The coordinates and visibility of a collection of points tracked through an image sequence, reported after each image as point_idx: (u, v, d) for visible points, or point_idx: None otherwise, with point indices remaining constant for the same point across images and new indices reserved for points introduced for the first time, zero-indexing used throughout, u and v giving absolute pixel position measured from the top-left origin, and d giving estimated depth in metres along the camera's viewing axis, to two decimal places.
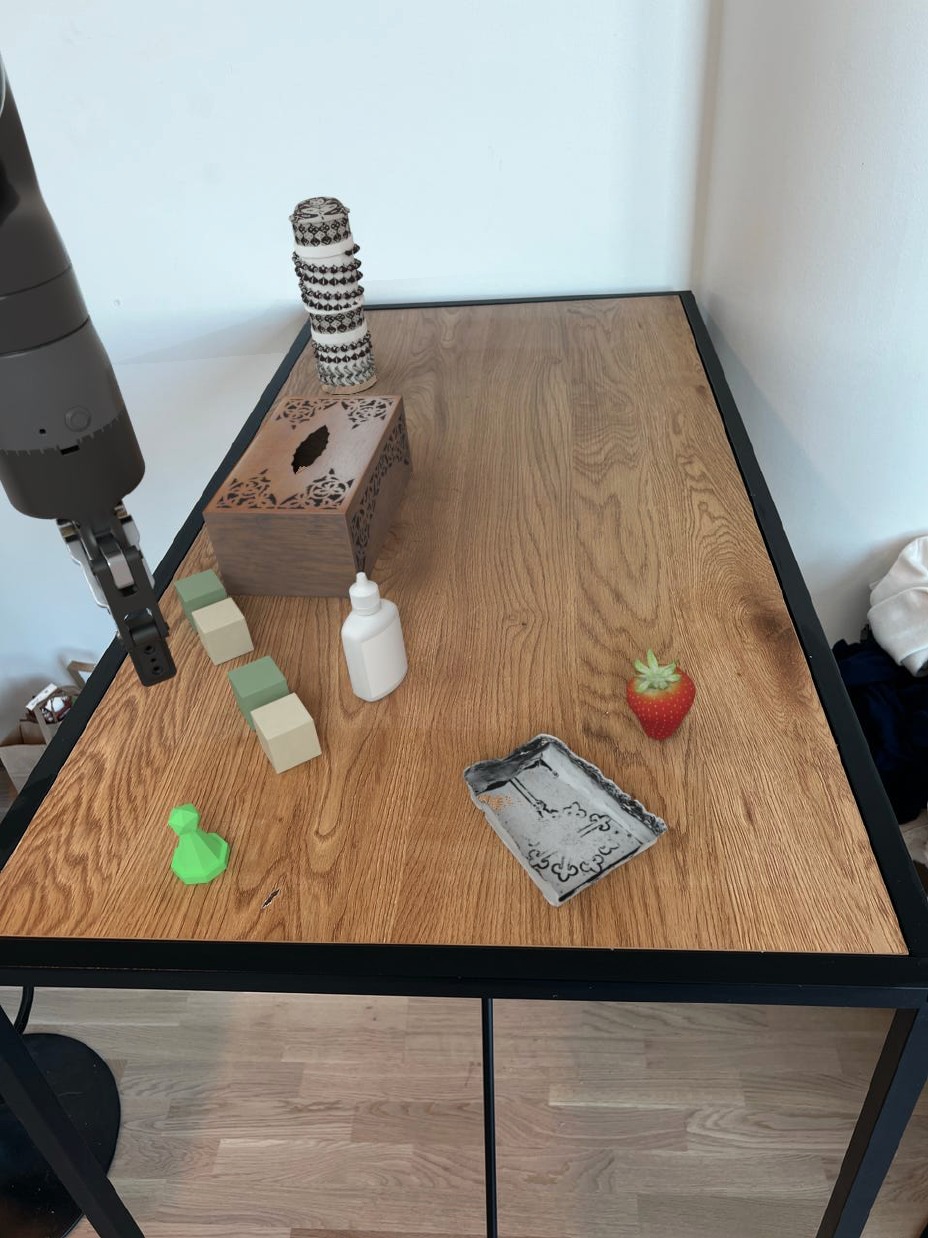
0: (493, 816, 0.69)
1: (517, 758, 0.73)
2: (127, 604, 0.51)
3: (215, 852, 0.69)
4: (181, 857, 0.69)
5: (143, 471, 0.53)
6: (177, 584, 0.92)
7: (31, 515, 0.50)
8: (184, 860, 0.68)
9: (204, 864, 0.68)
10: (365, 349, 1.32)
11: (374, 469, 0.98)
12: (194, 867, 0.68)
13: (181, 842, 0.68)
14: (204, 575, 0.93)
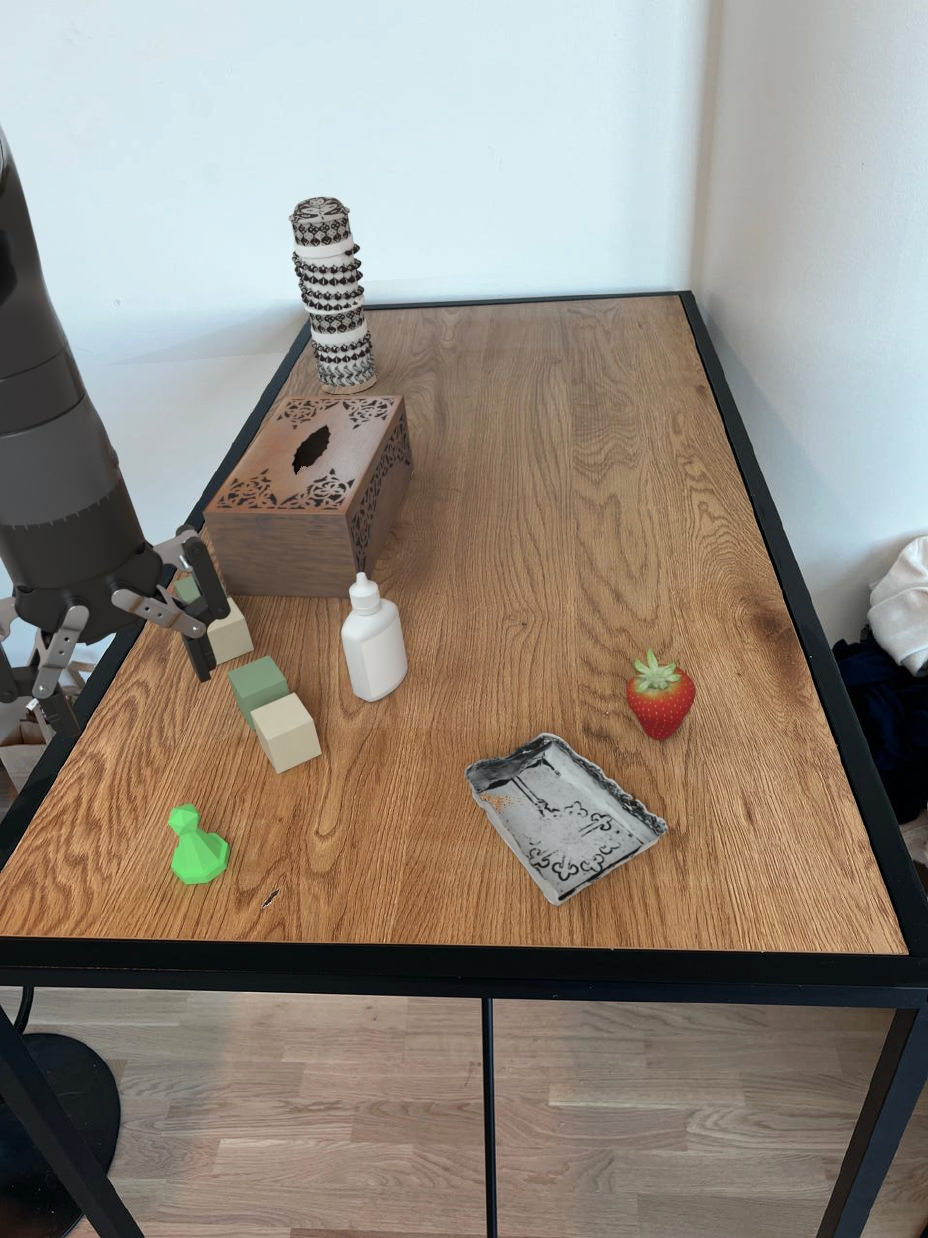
0: (494, 814, 0.69)
1: (519, 756, 0.73)
2: None
3: (215, 852, 0.69)
4: (181, 857, 0.69)
5: (55, 584, 0.50)
6: (177, 584, 0.92)
7: None
8: (184, 860, 0.68)
9: (204, 864, 0.68)
10: (365, 349, 1.32)
11: (375, 469, 0.98)
12: (194, 867, 0.68)
13: (181, 842, 0.68)
14: None
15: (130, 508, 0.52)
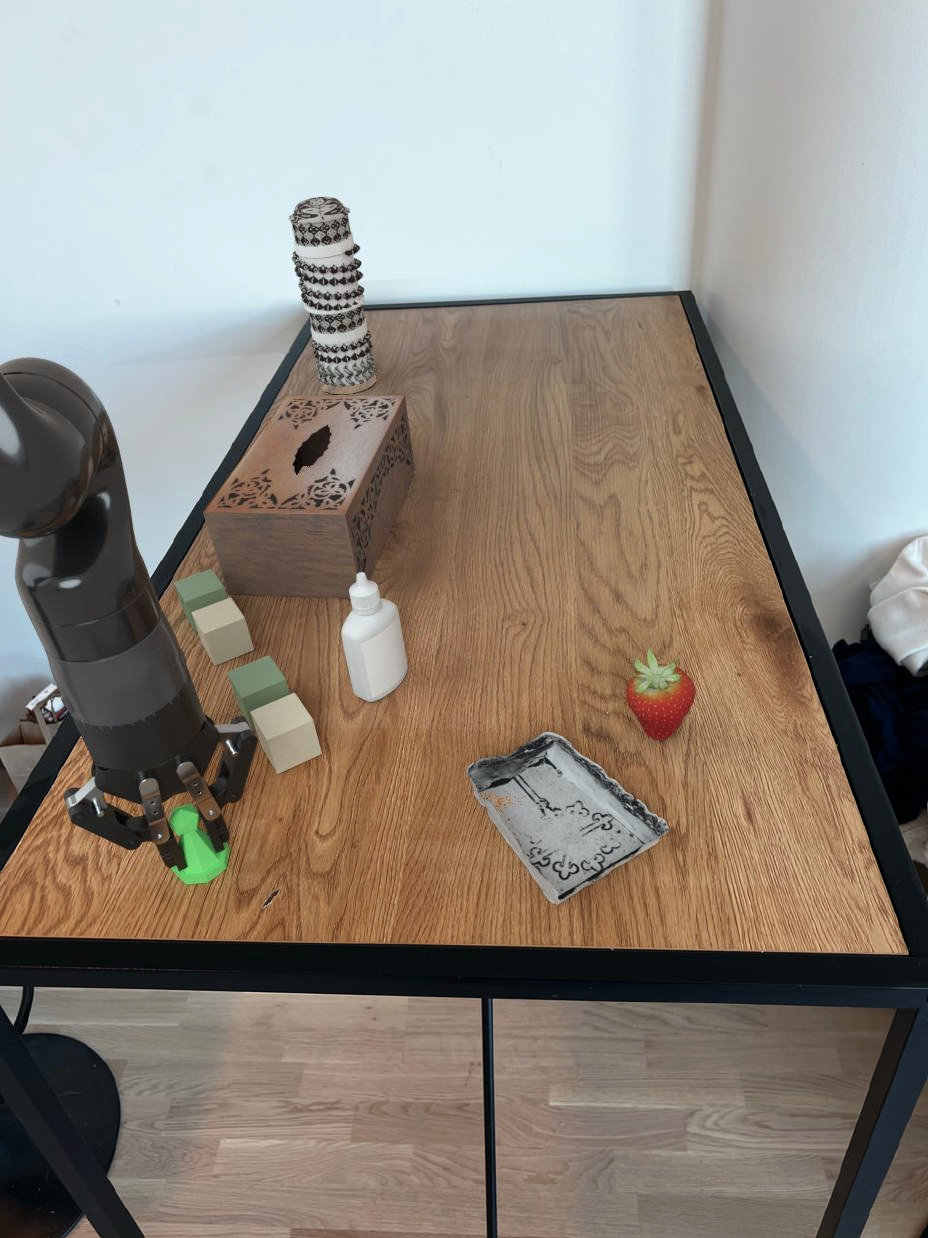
0: (495, 813, 0.69)
1: (521, 755, 0.73)
2: None
3: (215, 852, 0.69)
4: None
5: (133, 769, 0.59)
6: (177, 584, 0.92)
7: None
8: None
9: (204, 864, 0.68)
10: (365, 349, 1.32)
11: (376, 469, 0.98)
12: (194, 867, 0.68)
13: (181, 841, 0.68)
14: (204, 575, 0.93)
15: (195, 697, 0.60)
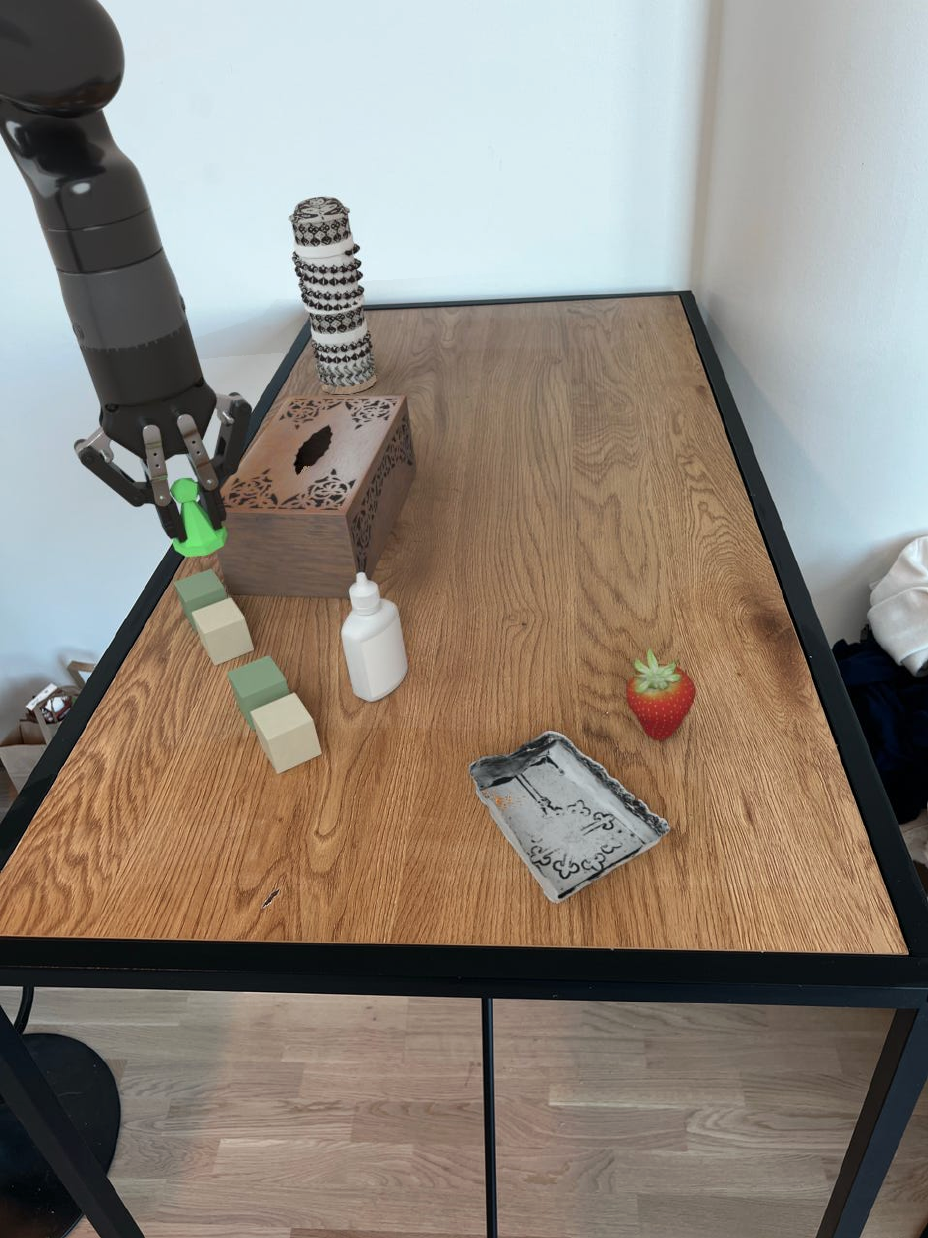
0: (497, 811, 0.69)
1: (523, 754, 0.73)
2: None
3: (213, 529, 0.75)
4: None
5: (137, 400, 0.64)
6: (177, 584, 0.92)
7: None
8: None
9: (203, 537, 0.74)
10: (365, 349, 1.32)
11: (376, 469, 0.98)
12: (194, 539, 0.74)
13: (182, 514, 0.74)
14: (204, 575, 0.93)
15: (193, 346, 0.66)
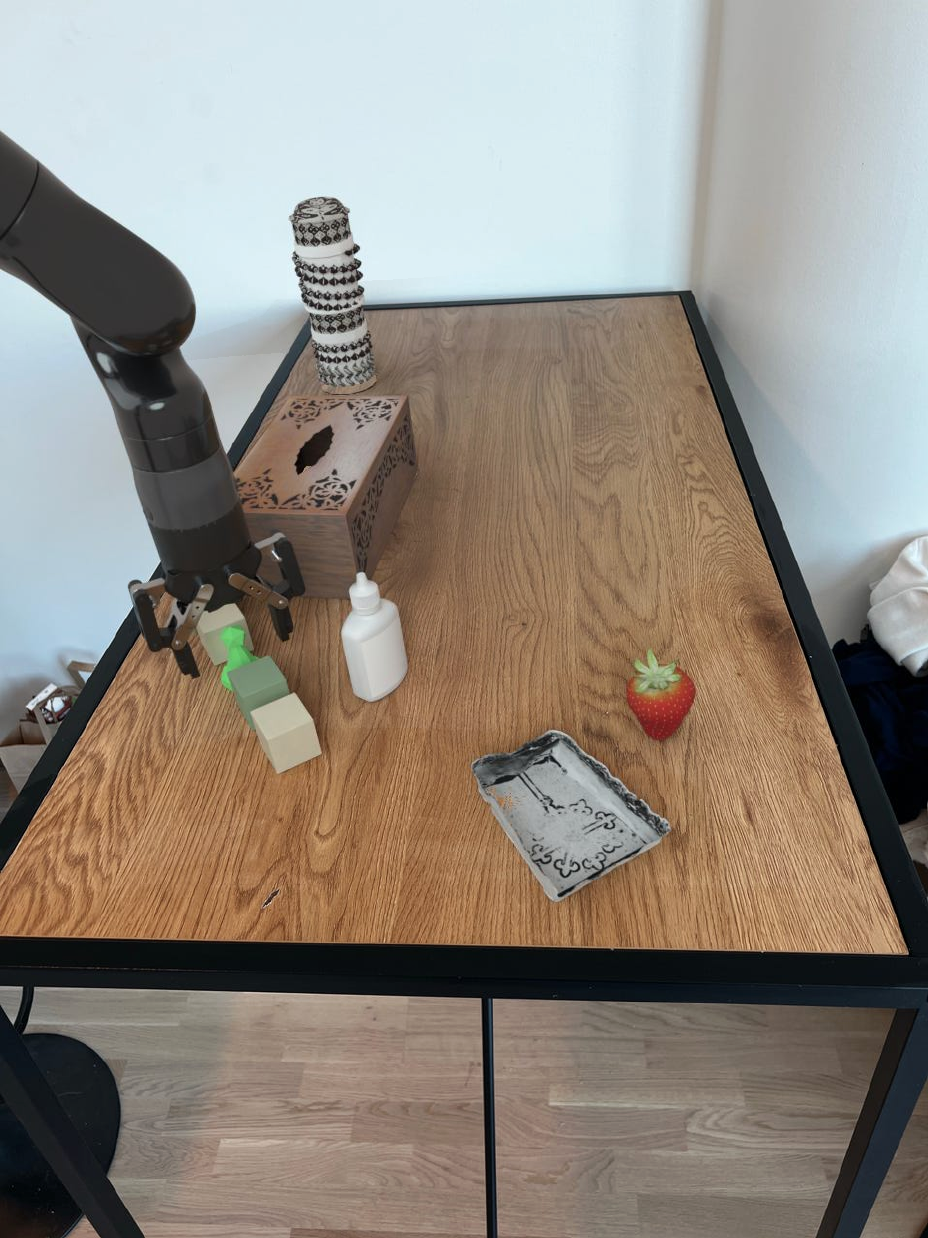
0: (498, 809, 0.69)
1: (526, 753, 0.73)
2: (137, 615, 0.78)
3: None
4: (229, 670, 0.85)
5: (196, 569, 0.75)
6: None
7: None
8: None
9: None
10: (365, 349, 1.32)
11: (377, 470, 0.98)
12: None
13: (230, 656, 0.84)
14: None
15: (244, 517, 0.76)
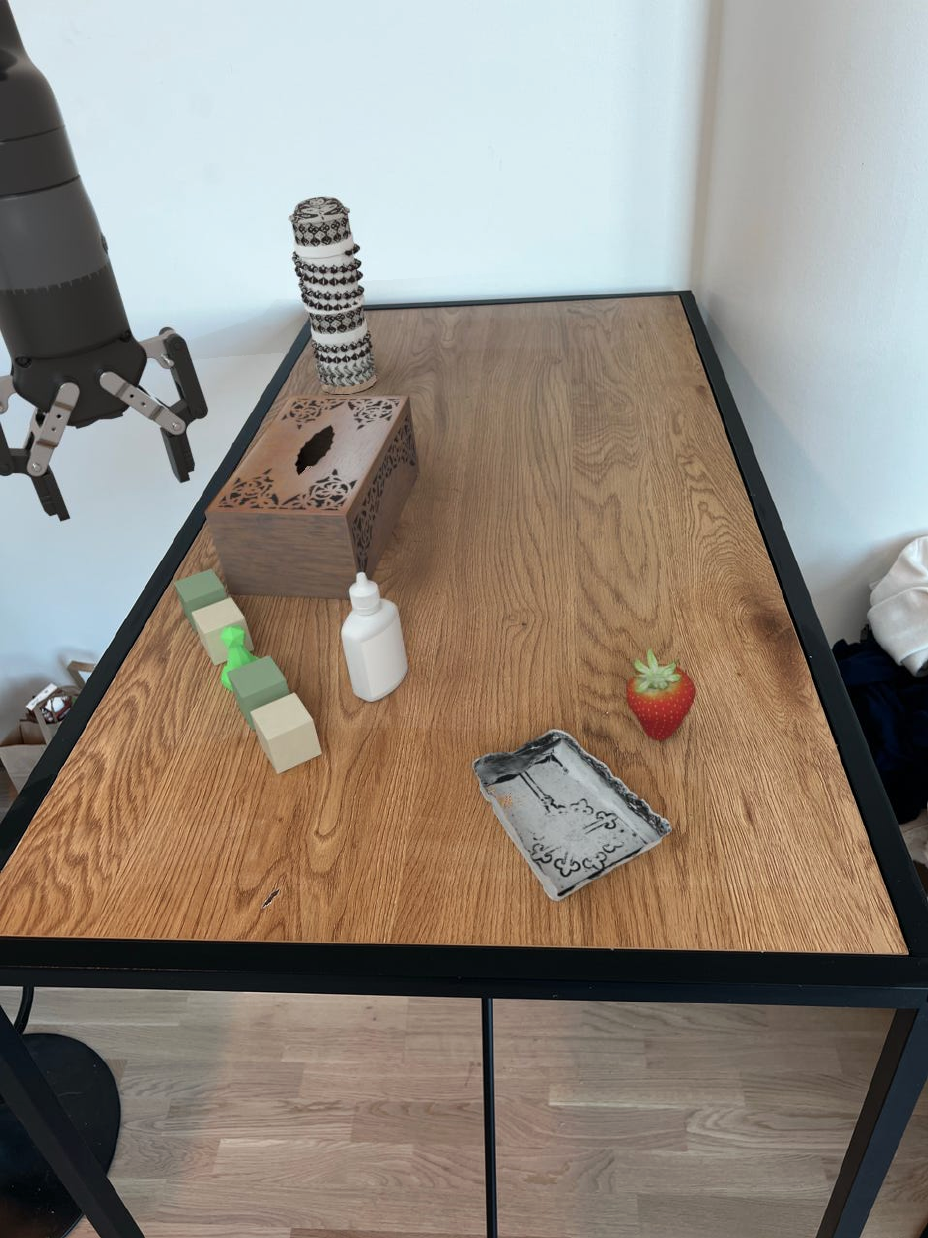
0: (499, 808, 0.69)
1: (528, 752, 0.73)
2: None
3: None
4: (229, 669, 0.85)
5: (50, 352, 0.56)
6: (177, 584, 0.92)
7: None
8: None
9: None
10: (365, 349, 1.32)
11: (378, 470, 0.98)
12: None
13: (230, 656, 0.84)
14: (204, 575, 0.93)
15: (118, 293, 0.58)
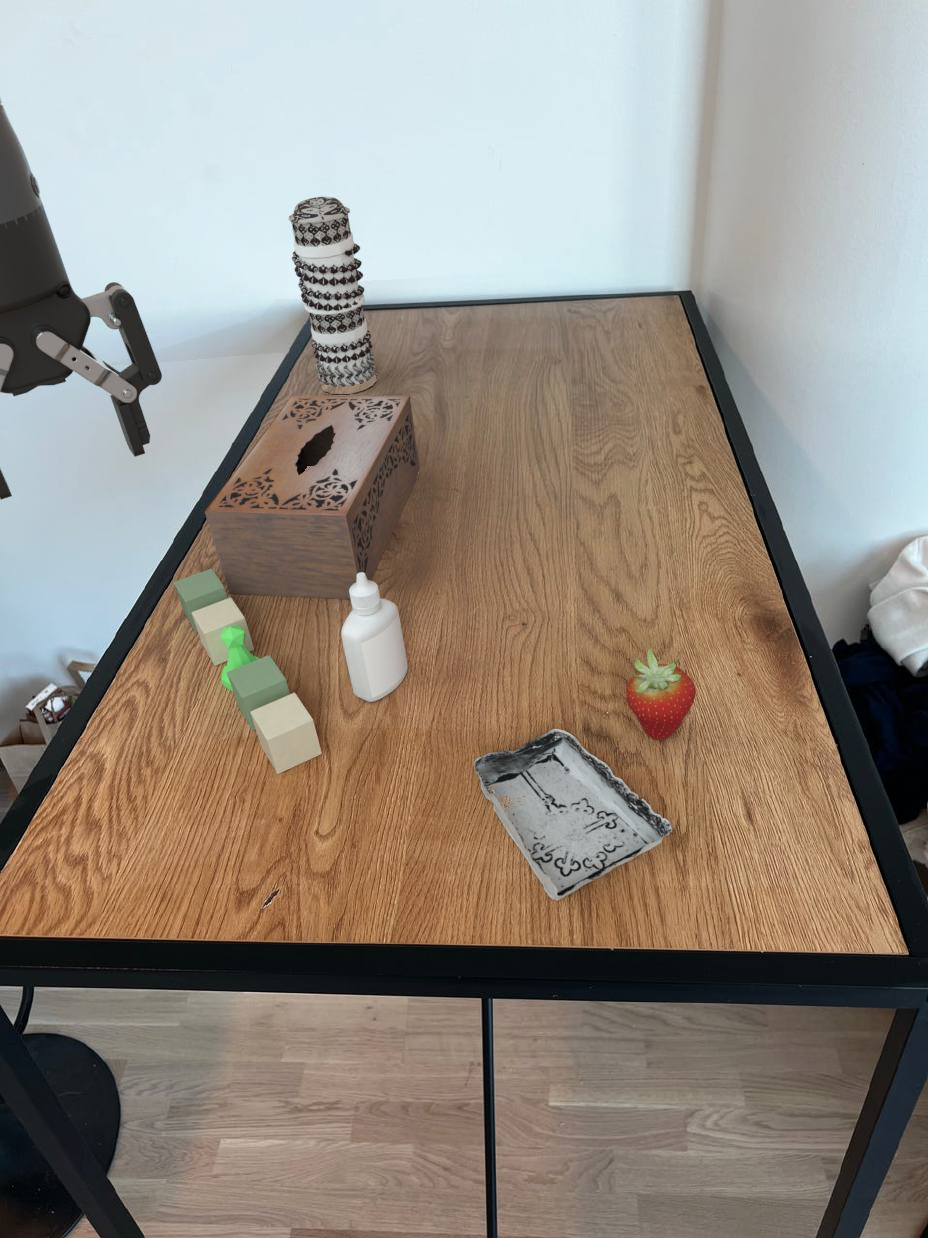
0: (500, 807, 0.69)
1: (529, 751, 0.73)
2: None
3: None
4: (229, 669, 0.85)
5: None
6: (177, 584, 0.92)
7: None
8: None
9: None
10: (365, 349, 1.32)
11: (378, 470, 0.98)
12: None
13: (230, 656, 0.84)
14: (204, 575, 0.93)
15: (52, 242, 0.52)
